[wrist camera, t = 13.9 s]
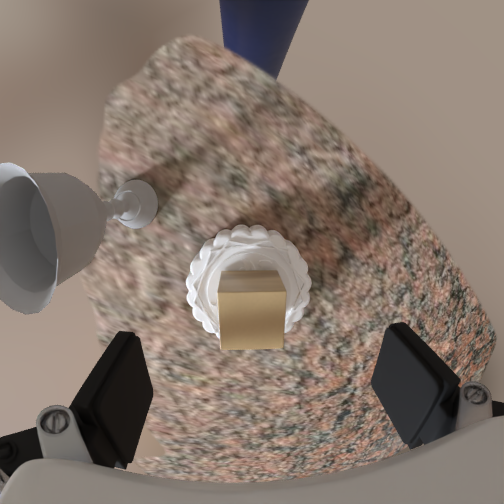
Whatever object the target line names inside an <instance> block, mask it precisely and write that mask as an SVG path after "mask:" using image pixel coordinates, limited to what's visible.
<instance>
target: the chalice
mask: <svg viewBox="0 0 504 504" xmlns="http://www.w3.org/2000/svg"><path fill="white" fill-rule="evenodd" d="M157 209H158V199H157V196H156V193H155V191H154V190H153V188H152V187H151V186H150V185H149V184H148V183H147V182H144V181H142V180H130V181H128V182H125V183H124V184H123V185H122V186H120V188H119V189H118V191H117V192H116V194H115V196H114V199H111V200H110V201H109V202H108V201H103V202H102V201H101V199H100V198H99V197H98V195H97V194H96V193H95V192H94V191H93V190H92V189H91V188H90V187H89V186H88V185H86V184H85V183H83V182H82V181H80V180H79V179H77V178H76V177H74V176H71V175H69V174H67V173H28V172H27V171H25V170H24V169H23V168H21V167H19V166H17V165H15V164H13V163H3V164H0V300H2V301H3V302H4V303H5V304H6V305H8V306H9V307H10V308H11V309H13V310H15V311H18V312H20V313H23V314H33V313H39V312H40V311H41V310H42V309H43V308H45V307H46V306H47V305H48V304H49V303H50V300H51V298H52V295H53V292H54V290H55V287H56V286H58V285H59V284H61V283H62V282H64V281H65V280H67V279H68V278H70V277H72V276H73V275H75V274H76V273H78V272H80V271H81V270H82V269H84V268H85V267H86V266H87V265H88V264H90V263H91V261H92V259H93V257H94V255H95V254H96V252H97V250H98V248H99V246H100V244H101V242H102V240H103V237H104V232H105V228H106V223H107V221H109V220H111V219H112V218H113V219H118V220H119V221H120V222H121V223H123V224H124V225H125V226H127V227H130V228H138V229H139V228H142V227H145V226H146V225H148V224H149V223H151V221H152V220H153V219H154V217H155V215H156V212H157Z"/></svg>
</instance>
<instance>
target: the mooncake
mask: <svg viewBox="0 0 504 504" xmlns="http://www.w3.org/2000/svg"><path fill="white" fill-rule="evenodd" d="M190 270H191V271H190V273H189V275H188V277H187V279H186V286H187V288H188V289H189V292H188V294H187V301H188V303H189V304H190V305H191V306H192V307H193V315H194V317H195V318H196V319H197V320H198V321H201V322H203V327H204V329H205V330H206V331H208V332H210V333H216V335H217V337H218V338H219V321H218V303H217V290H218V285H219V280H220V275H221V271H253V270H277V271H278V273H279V275H280V277H281V280H282V282H283V284H284V286H285V289H286V291H287V297H286V315H285V331H284V333H286V332H288V331H290V330H291V329H292V328H293V325H294V322H296V321H298V320H300V319H301V318H302V316H303V314H304V309H303V308H304V307H305V306H307V305H308V303H309V301H310V295H309V293H308V291H309V289H310V288H311V284H312V282H311V278H310V277H309V275H308V274H307V272H308V265H307V263H306V261H305V260H304V259H303V258H302V257H301V255H300V254H299V251H298V249H297V248H296V247H295V245H294V244H293V243H292V242H291V241H289V240H286V239H284V238H283V236H282V235H281V234H280V233H279V232H278V231H276V230H269V231H267V230H266V229H265V228H264V227H263V226H261V225H253V226H251V227H250V228H249V227H248V226H246V225H237V226H235V227H234V228H233V229H232V230H229V229H224V230H221V231H220V232H218V234H217V235H216V237H215V238H212V239H209V240H207V241H206V242H205V243H204V245H203V247H202V248H201V250H200V252H198V253H197V254H196V256H195V257H194V259H193V261H192V263H191V265H190ZM219 339H220V338H219Z"/></svg>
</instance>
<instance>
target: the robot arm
mask: <svg viewBox="0 0 504 504" xmlns="http://www.w3.org/2000/svg"><path fill="white" fill-rule="evenodd" d="M459 382H460V379H459V377H458V376H457V375H456V374H455V373H454V372H453V371H452V370H451V369H450V368H449V367H448V366H447V365H446V364H445V363H444V361H443V360H442V359H441V358H440V357H439V356H438V355H437V354H436V353H435V352H434V351H433V350H432V349H431V348H430V347H429V346H428V345H427V344H426V343H425V342H424V341H423V340H422V339H421V338H420V337H419V336H418V335H417V334H416V333H415V332H414V331H413V330H412V329H411V328H410V327H409V326H408V325H407V324H406V323H404V322H400V323H394V324H391V325H390V326H389V328H387V329H386V331H385V334H384V338H383V342H382V345H381V349H380V353H379V356H378V359H377V363H376V366H375V369H374V373H373V376H372V379H371V385H372V388H373V390H374V391H375V393H376V395H377V397H378V398H379V400H380V402H381V403H382V405H383V407H384V409H385V410H386V412H387V414H388V416H389V418H390V419H391V421H392V423H393V425H394V426H395V428H396V430H397V432H398V434H399V436H400V437H401V439H402V441H403V442H404V443H405V444H408V446H409V448H410V449H413V448H416V447H418V446H421V445H422V444H424V445H423V446H421V447H418V448H416V449H413V450H411V451H408V452H405V453H402V454H400V455H397V456H394V457H391V458H388V459H385V460H382V461H378V462H375V463H371V464H368V465H364V466H361V467H357V468H353V469H348V470H344V471H340V472H335V473H330V474H325V475H319V476H313V477H306V478H299V479H291V480H282V481H270V482H250V483H217V482H198V481H186V480H177V479H169V478H162V477H155V476H148V475H142V474H137V473H132V472H127V471H123V470H118V469H114V467H117V468H122V469H126V468H127V464H128V463H132V461H133V458H134V455H135V451H136V448H137V445H138V442H139V439H140V435H141V432H142V429H143V426H144V423H145V420H146V416H147V413H148V410H149V407H150V404H151V401H152V398H153V387H152V384H151V380H150V377H149V373H148V369H147V366H146V362H145V358H144V354H143V350H142V346H141V341H140V338H139V337H138V336H136V335H135V333H133V332H125V331H119V332H118V333H117V334H116V336H115V337H114V339H113V340H112V341H111V343H110V344H109V346H108V347H107V349H106V350H105V352H104V353H103V355H102V356H101V358H100V359H99V361H98V362H97V364H96V365H95V367H94V368H93V370H92V371H91V373H90V374H89V376H88V378H87V379H86V381H85V382H84V384H83V385H82V387H81V388H80V390H79V392H78V393H77V395H76V396H75V398H74V400H73V401H72V403H71V405H70V407H69V408H67V407H64V406H61V405H54V406H49V407H47V408H45V409H44V410H42V411H41V412H40V414H39V415H38V417H37V420H36V427H34V428H31V429H28V430H24V431H21V432H18V433H14V434H10V435H7V436H3V437H1V438H0V504H504V403H502V402H497V401H492V398H491V393H490V391H489V390H488V388H487V387H486V386H485V385H483V384H481V383H478V382H466V383H465V384H463V385H462V386H461V388H460V387H459V386H458V384H459Z"/></svg>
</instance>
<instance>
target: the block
mask: <svg viewBox="0 0 504 504" xmlns="http://www.w3.org/2000/svg"><path fill="white" fill-rule="evenodd" d="M286 297H287V291H286V289H285V286H284V284H283V282H282V280H281V277H280V275H279V273H278V271H277V270H253V271H221V275H220V280H219V285H218V290H217V303H218V321H219V338H220V349H221V350H243V349H275V348H283V346H284V331H285V315H286Z"/></svg>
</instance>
